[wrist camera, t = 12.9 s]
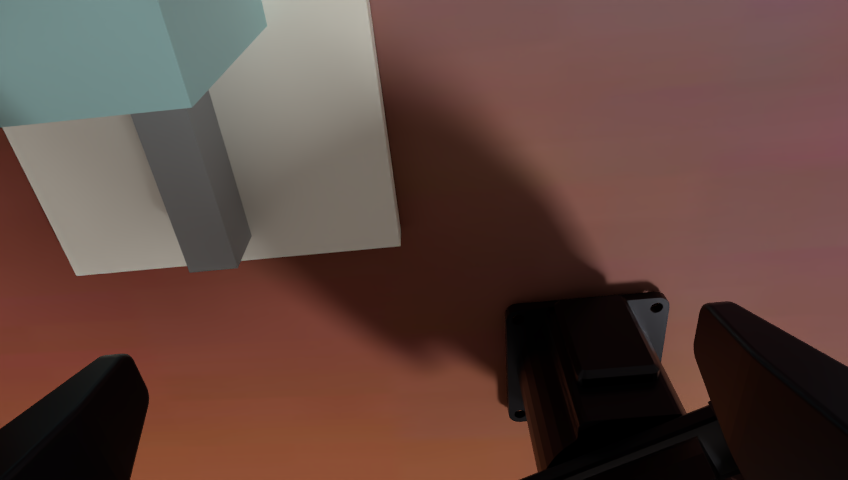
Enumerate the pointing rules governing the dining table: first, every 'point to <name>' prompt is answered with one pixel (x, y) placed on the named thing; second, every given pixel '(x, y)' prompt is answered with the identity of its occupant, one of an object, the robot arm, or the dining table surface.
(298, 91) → the cleat board
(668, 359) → the dining table surface
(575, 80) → the dining table surface
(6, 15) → the teal block
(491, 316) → the dining table surface
